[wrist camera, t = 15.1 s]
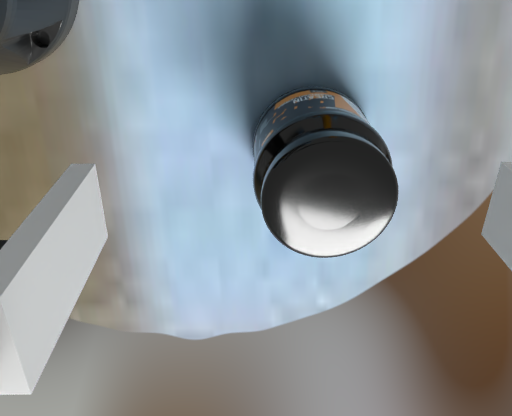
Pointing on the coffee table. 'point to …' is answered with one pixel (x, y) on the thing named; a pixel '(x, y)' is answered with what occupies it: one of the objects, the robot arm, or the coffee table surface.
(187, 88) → the coffee table surface
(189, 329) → the coffee table surface
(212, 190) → the coffee table surface
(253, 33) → the coffee table surface
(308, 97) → the supplement container
